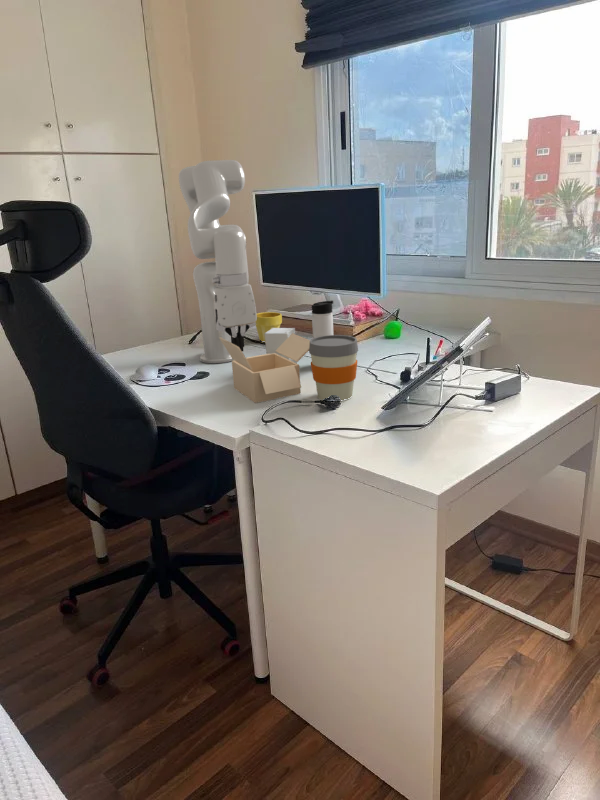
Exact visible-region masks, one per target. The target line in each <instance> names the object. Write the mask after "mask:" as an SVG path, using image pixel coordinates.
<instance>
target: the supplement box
mask: <svg viewBox="0 0 600 800" xmlns="http://www.w3.org/2000/svg"><path fill="white" fill-rule="evenodd" d="M292 333H293V334H295V335H296V328H295V327H280V328H272V329H271V330H269V331H267V332H266V333H264V334H265V354H273V353H276V354H278V355H280V356H282V357H284V358H286V359H288V360H290V361H292V362H294V363H296V364H298V362H297V361H295V360H293V359H291V358H289V357H287V356H285V355H282V354H280V353H278V352H276V350H277V348H278V347H279V346H280V345H281V344H282V343H283V342H284V341H285V340H286V339H287V338H288V337H289V336H290V335H291V334H292Z"/></svg>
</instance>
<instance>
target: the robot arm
mask: <svg viewBox="0 0 600 800" xmlns="http://www.w3.org/2000/svg"><path fill="white" fill-rule="evenodd" d="M178 184H179V188H180V191H181V194H182V197H183V199H184V201H185V203H186V205H187V208H188V210H189V213H190V214H189V217H188V220H187V233H188V239H189V243H190V248H191V251H192V254H193V255H194V257H196V258H197V259H200V260H209V259H214V261H204V262H200V263H199V264H197V265H196V266H195V267H194V268H193V272H192V276H193V282H194V287H195V290H196V293H197V300H198V306H199V315H200V323H201V334H202V342H203V343H202V344H203V354H201V355H200V356H199V358H200V359H199V360H200V362H202V363H205V364H223V363H229V362H232V361H233V360H234V359H232V357H231V356H230V354H229V352H228V351H227V349H226V348H225V346H224V345H223V343H222V341H221V340H220V337H221V338H223V339H225V340H227V341H229V342H231V343H233V344H234V345H236V346H238V347H239V348H240V349H241V351H242V352H244V348H245V338H244V337H245V336H246V333H247V331H248V330H249V329H251V328H253V327H256V320H257V307H256V300H255V296H254V291H253V289H252V284H250V283H249V280H250V279H249V278H250V277H249V266H248V265H249V263H248V257H247V238H246V234H245V232H244V230H243V229H242V228H241V227H240V226H239V225H237V224H222V225H221V223H220V220H219V219H220V218H222V217H224V216H225V215H226V214H227V213H228V211H229V210H230V208H231V207H230V206H231V199H230V195H234V194H237V193H240V192H242V191H243V189H244V188H245V184H246V174H245V170H244V168H243V166H242V164H241V163H240V162H239V161H238V160H235V159H221V160H220V159H218V160H217V159H216V160H215V159H214V160H204V161H201V162H198V163H196V164H195V165H191V166H187V167H183V168H182V169H181V170H179V173H178ZM236 327H237V328H236ZM236 329H237V330H236Z"/></svg>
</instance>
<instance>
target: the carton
mask: <svg viewBox="0 0 600 800" xmlns="http://www.w3.org/2000/svg"><path fill="white" fill-rule="evenodd" d="M245 357H246V359H247V361H248V362H249V364H250V365H251V367H252V370H251V369H249V368H247V367H246V366H244V365H242V364H241V363H239V362H237V361H236V360H233V361H231V367H232V368H231V369H232V378H233V379H232V380H233V388H234V389H235V390H236V391H237V392H239V393H240V394H242V395H243V396H244V397H246V398H247V399H249V400H250V401H252V402H254V403H255V404H258V403H262V402H266V401H272V400H276V399H280V398H286V397H291V396H295V395H301V394H302V393H301V388H302V386H301V375H300V373H301V372H300V364H298V363H297V364H296V363H294V362H292V361H290V360H288V359H286V358H284V357H282V356H280V355H278V354H276V353H273V354H266V353H264V354H259V355H252V356H245ZM300 393H301V394H300Z"/></svg>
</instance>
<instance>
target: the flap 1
mask: <svg viewBox="0 0 600 800" xmlns="http://www.w3.org/2000/svg"><path fill="white" fill-rule="evenodd" d="M220 340H221V341H222V343H223V345H224V346H225V348H226V349H227V351H228V352H229V354H230V356H231V357H232V359H234V360H236V361H237V362H239V363H241V364H242V365H244V366H246V367H247V368H249V369H251V370H252V367H251V365H250V364H249V362H248V361H247V359H246V357H247V356H245V354H244V353H243V352H244V351H241V349H240V348H239V347H238V346H236V345H234V344H233V343H231V342H229V341H227V340H225V339H223V338H221V337H220Z"/></svg>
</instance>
